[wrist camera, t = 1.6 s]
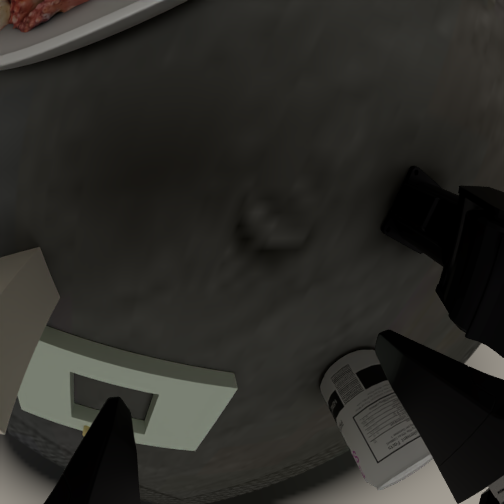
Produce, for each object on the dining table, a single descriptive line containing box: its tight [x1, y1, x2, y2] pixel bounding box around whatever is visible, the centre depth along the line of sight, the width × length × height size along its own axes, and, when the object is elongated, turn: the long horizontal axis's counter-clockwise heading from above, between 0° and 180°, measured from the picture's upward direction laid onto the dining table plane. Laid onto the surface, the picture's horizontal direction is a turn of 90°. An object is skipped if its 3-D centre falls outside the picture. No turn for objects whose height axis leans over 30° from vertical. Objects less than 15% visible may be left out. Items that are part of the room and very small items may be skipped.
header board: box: [17, 326, 238, 451], centre depth 23 cm, size 22×14×3 cm, turn 65°
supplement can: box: [320, 350, 433, 490], centre depth 24 cm, size 8×8×15 cm
